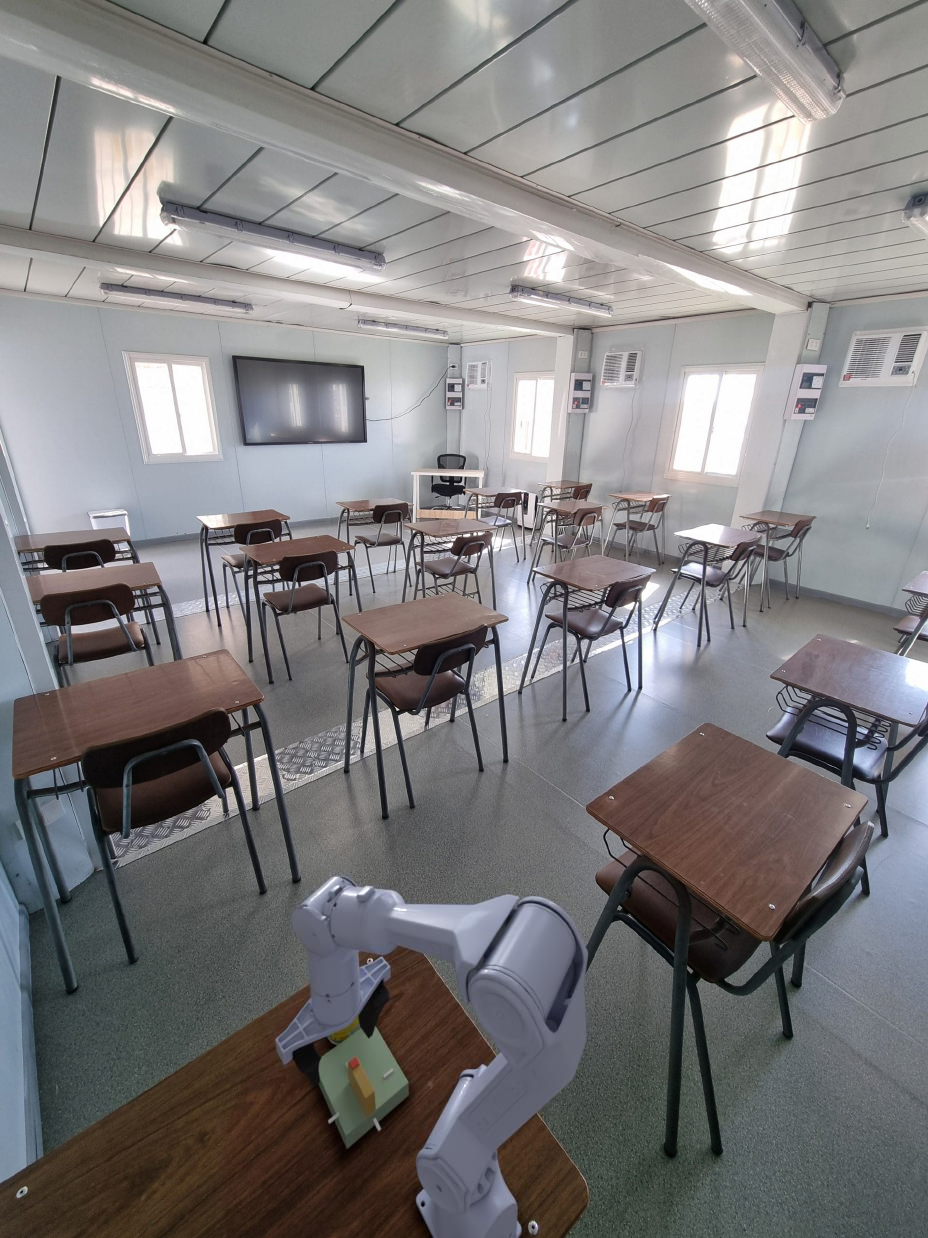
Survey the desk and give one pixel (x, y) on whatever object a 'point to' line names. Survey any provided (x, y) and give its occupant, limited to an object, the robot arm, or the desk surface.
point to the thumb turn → (361, 1086)
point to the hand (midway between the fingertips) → (340, 1053)
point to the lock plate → (380, 1074)
